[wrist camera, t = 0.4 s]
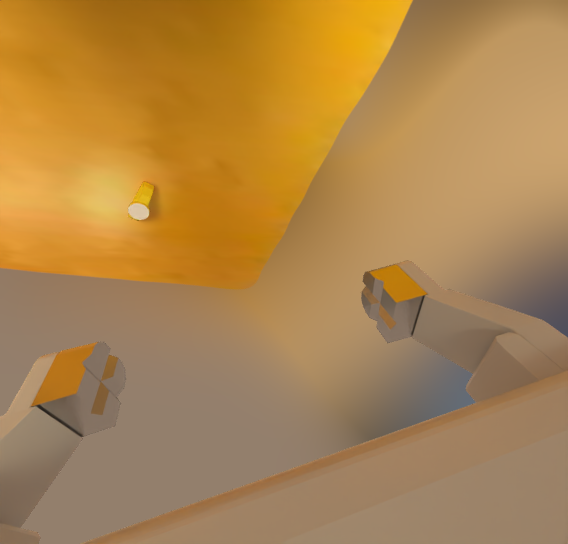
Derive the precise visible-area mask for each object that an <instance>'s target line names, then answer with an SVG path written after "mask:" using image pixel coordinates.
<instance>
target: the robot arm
mask: <svg viewBox="0 0 568 544" xmlns="http://www.w3.org/2000/svg"><path fill="white" fill-rule="evenodd" d="M363 282H364V284H365V285H366V287H365V288H364V289H363V291H362V297H361V299H362V304H363V307H364V309H365V311H366V313H367V314H368V316H369V318H371V319H373V320H376V321H377V329H378V330H379V332H380V333H381V335H382V336H383V337H384V339H385V340H386V341H387V343H390V342H394V341H398V340H401V339H404V338H408V337H412V338H413V339H415V340H417V341H419V342H420V343H422V344H424V345H425V346H427V347H429V348H430V349H432V350H434V351H435V352H437V353H439V354H440V355H442V356H444V357H445V358H447V359H449V360H451V361H452V362H454V363H456V364H457V365H459V366H461V367H462V368H464V369H466V370H467V371H469V372H471V373H473V375H472V377H471V379H470V380H469V382H468V384H467V386H466V391H467V392H468V393H469V394H470V396H471V397H472V398H473V399H474V400H475V401H476V403H475V404H472V405H469V406H466V407H463V408H460V409H458V410H455V411H452V412H449V413H447V414H444V415H441V416H438V417H435V418H432V419H430V420H427V421H424V422H421V423H418V424H415V425H413V426H410V427H407V428H404V429H401V430H399V431H396V432H393V433H390V434H387V435H385V436H382V437H379V438H376V439H374V440H371V441H368V442H365V443H362V444H359V445H357V446H354V447H351V448H348V449H345V450H342V451H339V452H337V453H334V454H331V455H328V456H325V457H323V458H320V459H317V460H314V461H311V462H309V463H306V464H303V465H300V466H297V467H294V468H292V469H289V470H286V471H283V472H281V473H277V474H275V475H272V476H269V477H266V478H264V479H261V480H258V481H255V482H252V483H250V484H247V485H244V486H241V487H238V488H235V489H232V490H230V491H227V492H224V493H221V494H218V495H216V496H213V497H210V498H207V499H205V500H201V501H199V502H196V503H193V504H190V505H187V506H185V507H182V508H179V509H176V510H173V511H171V512H168V513H165V514H162V515H159V516H156V517H154V518H151V519H148V520H145V521H142V522H140V523H137V524H134V525H131V526H128V527H126V528H123V529H120V530H117V531H115V532H111V533H109V534H106V535H103V536H100V537H97V538H95V539H92V540H89V541H86V542H83V543H81V544H568V338H567V337H566V336H564V335H563V334H562V333H560V332H559V331H557V330H556V329H555V328H553V327H552V326H550V325H549V324H548V323H546V322H545V321H543V320H541V319H538V318H535V317H532V316H529V315H526V314H523V313H520V312H517V311H514V310H511V309H508V308H505V307H502V306H499V305H496V304H493V303H490V302H487V301H484V300H481V299H478V298H474V297H471V296H469V295H466V294H463V293H460V292H457V291H454V290H451V289H447V290H444V289H443V288H442V287H440V286H439V285H438V284H437V283H436V282H435V281H434V280H432V279H431V278H430V277H429V276H428V275H427V274H426V273H424V272H423V271H422V270H421V269H420V268H419V267H417V266H416V265H415V264H414V263H413V262H411V261H408V260H407V261H403V262H400V263H397V264H393V265H389V266H386V267H382V268H378V269H375V270H371V271H367V272H365V274H364V276H363ZM109 353H110V348H109V346H108V345H107V344H106V343H104V342H96V343H92V344H88V345H83V346H79V347H75V348H71V349H67V350H63V351H60V352H56V353H52V354H47V355H43V356H41V357H40V358H39V359H38V360H36V362H35V364H34V365H33V367H32V369H31V371H30V373H29V374H28V376H27V378H26V380H25V381H24V383H23V385H22V387H21V388H20V390H19V392H18V393H17V395H16V397H15V399H14V400H13V402H12V404H11V406H10V408H9V410H8V411H7V413H6V415H3V416H0V544H39V540H40V536H39V534H38V532H34V531H30V530H26V529H22V528H21V526H22V525H23V524H24V522H25V521H26V519H27V518H28V516H29V515H30V514H31V512H32V511H33V509H34V508H35V506H36V505H37V504H38V502H39V501H40V499H41V498H42V496H43V495H44V493H45V492H46V491H47V489H48V488H49V486H50V485H51V484H52V482H53V481H54V479H55V478H56V476H57V475H58V474H59V472H60V471H61V469H62V468H63V466H64V465H65V464H66V462H67V461H68V459H69V458H70V456H71V455H72V454H73V452H74V451H75V449H76V448H77V447H78V445H79V444H80V442H81V441H82V439H83V438H82V437H84V436H87V435H90V434H93V433H96V432H99V431H102V430H105V429H108V428H111V427H114V426H115V425H116V420H117V416H118V412H119V408H120V401H119V400H118V398H117V396H118V395H119V394H120V393H121V391H122V390H123V389H124V386H125V380H126V375H125V368H124V365H123V363H122V362H121V360H120V359H119V358H117V357H115V356H112V355H109Z"/></svg>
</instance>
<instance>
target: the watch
mask: <svg viewBox="0 0 568 544" xmlns="http://www.w3.org/2000/svg"><path fill="white" fill-rule="evenodd" d="M153 191H154V186H153V185H151V184H149V183H147V182H145V181H144V182H143V183H142V184H141V186H140V188H139V190H138V192H137V194H136V196H135V197H134V200H133V202H132V203H131V204H130V205H129V208H128V212H129V213H128V217H130V218H132V219H135V220H137V221H139V220H143V219H146V218H147V217H148V216H149V214H150V209H149V207H148V204H149V202H150V200H151V197H152V194H153Z"/></svg>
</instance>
